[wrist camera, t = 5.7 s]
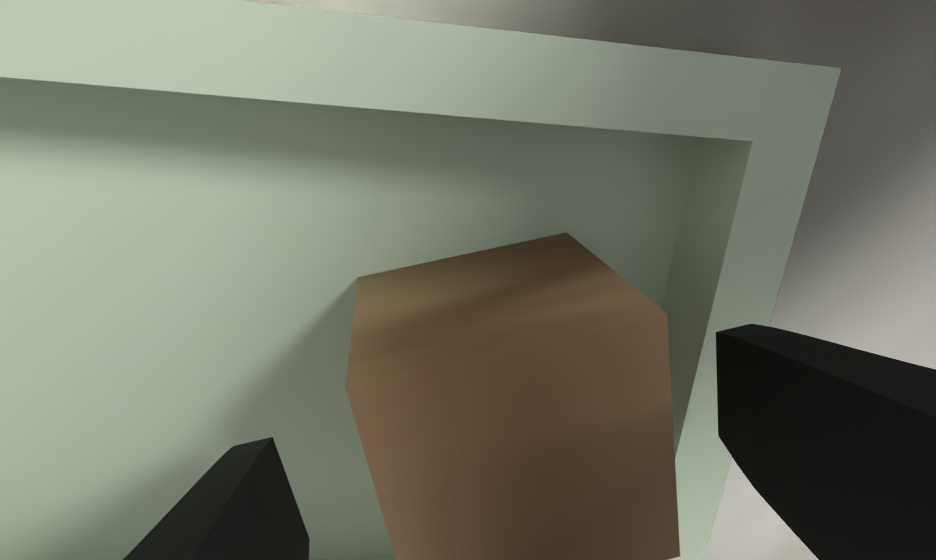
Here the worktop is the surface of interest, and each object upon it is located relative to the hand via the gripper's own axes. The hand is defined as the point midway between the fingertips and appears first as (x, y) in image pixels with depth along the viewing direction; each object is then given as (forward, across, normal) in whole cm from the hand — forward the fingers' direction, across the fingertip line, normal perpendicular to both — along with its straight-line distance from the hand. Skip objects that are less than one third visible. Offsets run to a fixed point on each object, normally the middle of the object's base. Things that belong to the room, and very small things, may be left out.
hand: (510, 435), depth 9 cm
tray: (+3, +3, -1) cm, 5 cm away
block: (+2, 0, 0) cm, 3 cm away
